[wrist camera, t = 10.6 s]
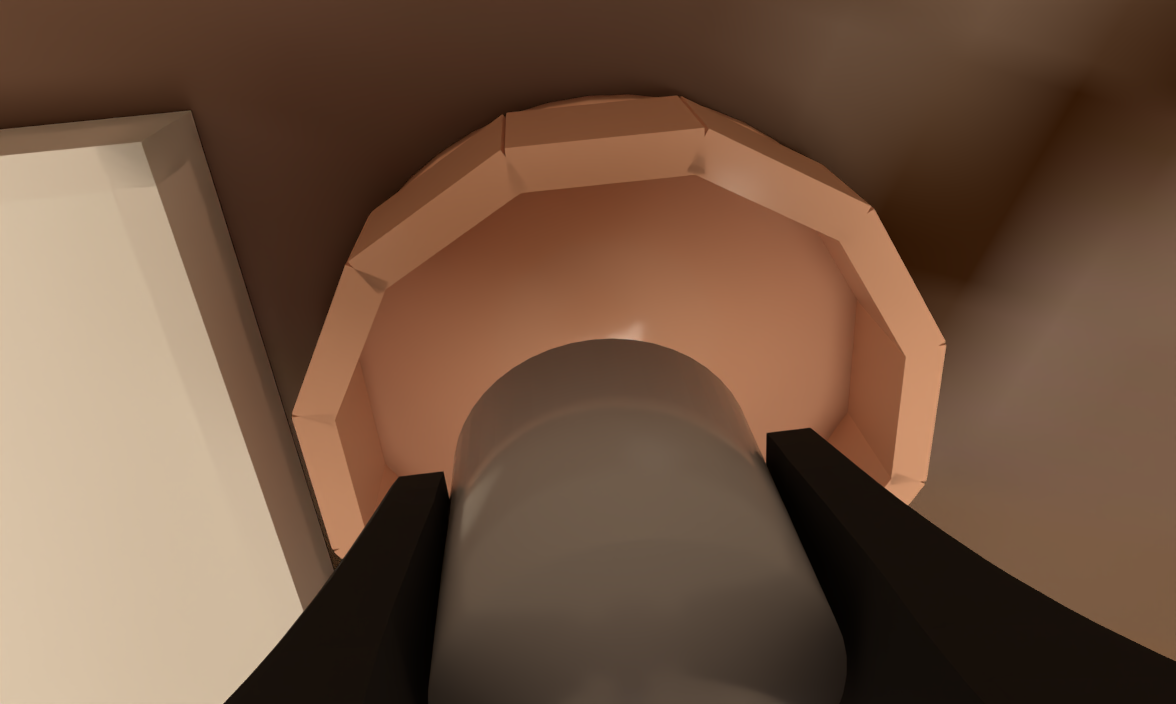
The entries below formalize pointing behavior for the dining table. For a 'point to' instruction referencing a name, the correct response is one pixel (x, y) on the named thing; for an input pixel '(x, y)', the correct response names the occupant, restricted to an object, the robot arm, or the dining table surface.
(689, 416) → the pebble
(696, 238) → the bowl
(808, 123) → the dining table surface
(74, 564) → the tray
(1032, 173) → the dining table surface
